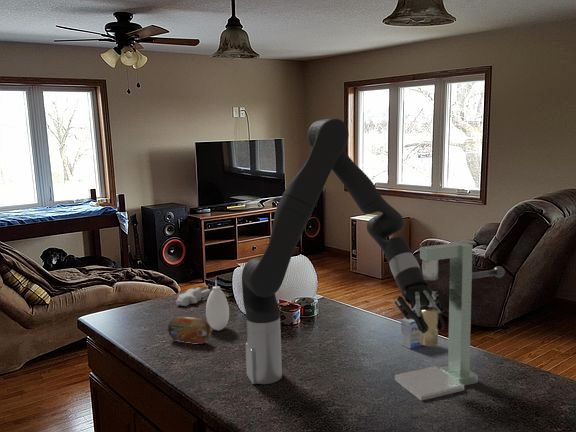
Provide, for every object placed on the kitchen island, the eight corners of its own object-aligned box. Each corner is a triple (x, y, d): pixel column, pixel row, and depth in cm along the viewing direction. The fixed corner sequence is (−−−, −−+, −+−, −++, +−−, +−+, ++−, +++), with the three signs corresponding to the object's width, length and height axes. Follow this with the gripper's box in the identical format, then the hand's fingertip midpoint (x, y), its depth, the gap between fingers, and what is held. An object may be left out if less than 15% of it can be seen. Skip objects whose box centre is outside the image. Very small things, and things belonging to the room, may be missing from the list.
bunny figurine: (170, 296, 207) (195, 282, 219) (172, 307, 208) (197, 293, 220) (187, 299, 202) (212, 285, 214) (189, 311, 203) (214, 296, 215)
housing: (426, 347, 131) (427, 312, 130) (416, 341, 135) (416, 307, 134) (441, 344, 132) (442, 309, 131) (430, 338, 137) (431, 304, 135)
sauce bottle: (234, 327, 181) (231, 278, 178) (219, 335, 174) (217, 283, 172) (217, 324, 185) (214, 275, 182) (202, 331, 179) (199, 280, 176)
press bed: (421, 400, 128) (422, 255, 122) (394, 380, 139) (395, 245, 133) (516, 377, 138) (521, 242, 132) (484, 360, 149) (488, 234, 143)
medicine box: (409, 349, 158) (410, 322, 157) (400, 344, 162) (400, 318, 161) (429, 344, 162) (429, 317, 160) (419, 339, 166) (420, 313, 164)
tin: (168, 341, 171) (166, 316, 170) (173, 337, 174) (172, 313, 172) (207, 346, 165) (206, 321, 164) (212, 343, 168) (211, 318, 167)
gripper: (389, 269, 135) (416, 328, 126) (435, 262, 140) (464, 319, 131) (379, 283, 141) (403, 341, 132) (423, 277, 146) (450, 332, 137)
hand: (433, 330), depth 131 cm, fingers closed on housing, 4 cm apart
